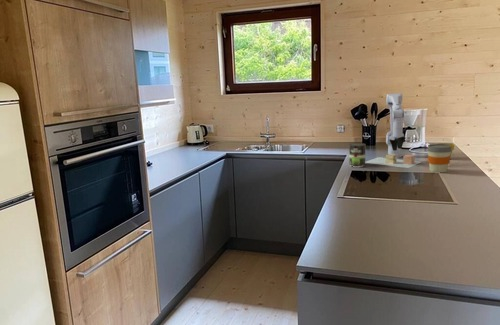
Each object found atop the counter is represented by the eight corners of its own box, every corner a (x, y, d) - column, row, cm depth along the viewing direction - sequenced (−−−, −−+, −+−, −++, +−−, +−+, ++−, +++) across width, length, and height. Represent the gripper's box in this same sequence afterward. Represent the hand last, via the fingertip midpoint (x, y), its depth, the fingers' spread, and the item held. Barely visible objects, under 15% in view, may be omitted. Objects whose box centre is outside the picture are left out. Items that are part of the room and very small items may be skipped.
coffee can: (363, 167, 241) (363, 145, 238) (347, 166, 246) (347, 145, 243) (367, 164, 250) (367, 143, 247) (351, 163, 254) (351, 142, 251)
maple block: (389, 161, 251) (389, 154, 250) (396, 162, 247) (396, 154, 246) (385, 162, 248) (385, 155, 247) (392, 163, 244) (393, 156, 243)
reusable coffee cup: (453, 173, 216) (454, 147, 212) (429, 173, 218) (430, 148, 215) (446, 168, 228) (448, 143, 224) (424, 168, 230) (425, 144, 227)
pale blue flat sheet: (378, 157, 266) (378, 157, 266) (421, 162, 245) (422, 161, 245) (363, 163, 253) (363, 162, 253) (408, 168, 232) (408, 167, 231)
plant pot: (449, 156, 257) (450, 142, 255) (456, 160, 247) (456, 145, 245) (433, 157, 258) (434, 143, 256) (439, 160, 248) (440, 145, 246)
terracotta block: (406, 162, 246) (406, 154, 245) (414, 163, 243) (414, 155, 242) (403, 163, 243) (403, 155, 242) (411, 164, 240) (411, 156, 239)
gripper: (396, 126, 249) (395, 147, 252) (386, 129, 239) (386, 150, 242) (407, 127, 244) (406, 148, 247) (397, 130, 234) (397, 151, 237)
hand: (397, 149), depth 244 cm, fingers open, 7 cm apart
